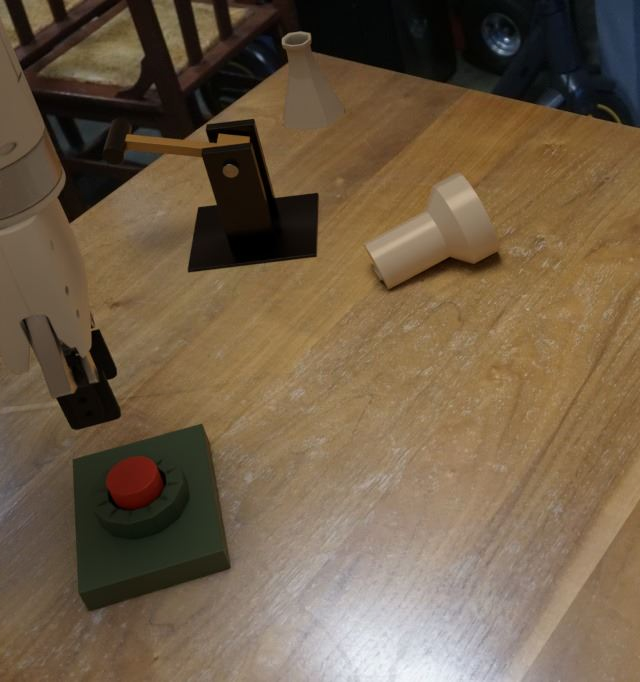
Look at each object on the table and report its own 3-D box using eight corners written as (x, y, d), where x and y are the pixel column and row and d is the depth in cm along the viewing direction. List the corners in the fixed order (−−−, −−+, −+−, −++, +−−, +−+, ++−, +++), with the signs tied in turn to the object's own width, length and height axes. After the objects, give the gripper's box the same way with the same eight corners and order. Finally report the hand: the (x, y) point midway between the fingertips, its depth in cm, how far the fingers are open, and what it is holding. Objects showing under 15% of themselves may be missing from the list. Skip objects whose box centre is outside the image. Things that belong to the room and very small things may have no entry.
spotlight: (514, 261, 99) (484, 188, 95) (404, 322, 98) (368, 250, 93) (482, 227, 106) (452, 157, 101) (378, 284, 104) (343, 215, 100)
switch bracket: (190, 279, 103) (154, 175, 95) (201, 216, 110) (167, 114, 102) (318, 264, 103) (292, 158, 95) (320, 202, 111) (296, 99, 103)
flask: (292, 103, 125) (273, 21, 118) (353, 104, 124) (338, 22, 117) (273, 138, 120) (252, 55, 113) (337, 139, 119) (320, 56, 112)
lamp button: (112, 479, 81) (104, 464, 80) (161, 465, 81) (154, 450, 80) (114, 516, 78) (107, 500, 77) (165, 501, 79) (158, 486, 78)
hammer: (102, 167, 97) (101, 143, 95) (111, 136, 100) (110, 113, 99) (246, 180, 99) (247, 158, 98) (250, 150, 103) (251, 128, 101)
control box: (81, 477, 86) (63, 443, 83) (209, 441, 88) (196, 407, 85) (88, 611, 77) (69, 578, 74) (231, 568, 79) (217, 534, 76)
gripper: (-74, 114, 66) (37, 337, 78) (-95, 277, 54) (39, 508, 67) (54, 86, 67) (143, 310, 80) (60, 240, 56) (163, 473, 68)
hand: (95, 398), depth 73 cm, fingers open, 3 cm apart
